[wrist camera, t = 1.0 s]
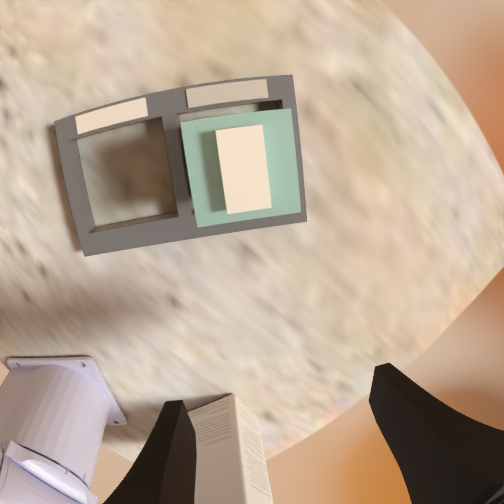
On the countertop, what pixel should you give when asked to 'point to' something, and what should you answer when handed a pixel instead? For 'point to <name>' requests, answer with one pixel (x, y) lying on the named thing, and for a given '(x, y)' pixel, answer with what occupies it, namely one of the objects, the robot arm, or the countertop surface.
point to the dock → (168, 109)
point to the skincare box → (229, 455)
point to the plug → (242, 166)
